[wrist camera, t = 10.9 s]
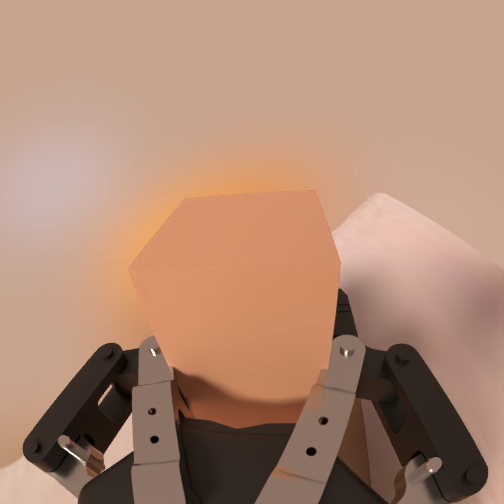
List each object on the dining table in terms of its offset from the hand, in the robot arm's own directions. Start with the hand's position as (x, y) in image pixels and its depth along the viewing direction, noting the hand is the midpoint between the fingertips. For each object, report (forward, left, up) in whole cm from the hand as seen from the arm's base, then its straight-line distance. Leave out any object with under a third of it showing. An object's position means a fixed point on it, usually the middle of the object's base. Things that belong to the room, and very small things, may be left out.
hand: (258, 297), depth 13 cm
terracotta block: (0, +3, -7) cm, 7 cm away
